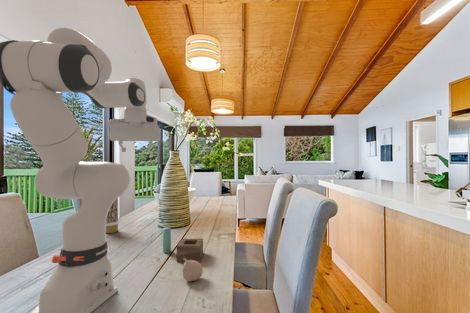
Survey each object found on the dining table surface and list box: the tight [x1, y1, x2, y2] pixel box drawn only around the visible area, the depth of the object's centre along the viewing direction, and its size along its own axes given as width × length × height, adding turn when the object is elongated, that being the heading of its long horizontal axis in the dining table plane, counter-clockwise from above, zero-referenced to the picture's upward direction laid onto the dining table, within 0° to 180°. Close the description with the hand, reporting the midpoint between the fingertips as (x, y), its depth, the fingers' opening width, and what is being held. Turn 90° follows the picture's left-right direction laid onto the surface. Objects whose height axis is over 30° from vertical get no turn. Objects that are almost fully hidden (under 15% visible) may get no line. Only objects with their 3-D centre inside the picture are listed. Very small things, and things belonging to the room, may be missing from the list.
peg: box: [162, 226, 172, 254], centre depth 109 cm, size 3×3×10 cm
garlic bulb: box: [182, 258, 204, 282], centre depth 84 cm, size 7×6×8 cm
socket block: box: [176, 238, 204, 263], centre depth 103 cm, size 9×9×6 cm
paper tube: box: [106, 197, 119, 234], centre depth 139 cm, size 7×7×25 cm
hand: (135, 151), depth 108 cm, fingers open, 8 cm apart
